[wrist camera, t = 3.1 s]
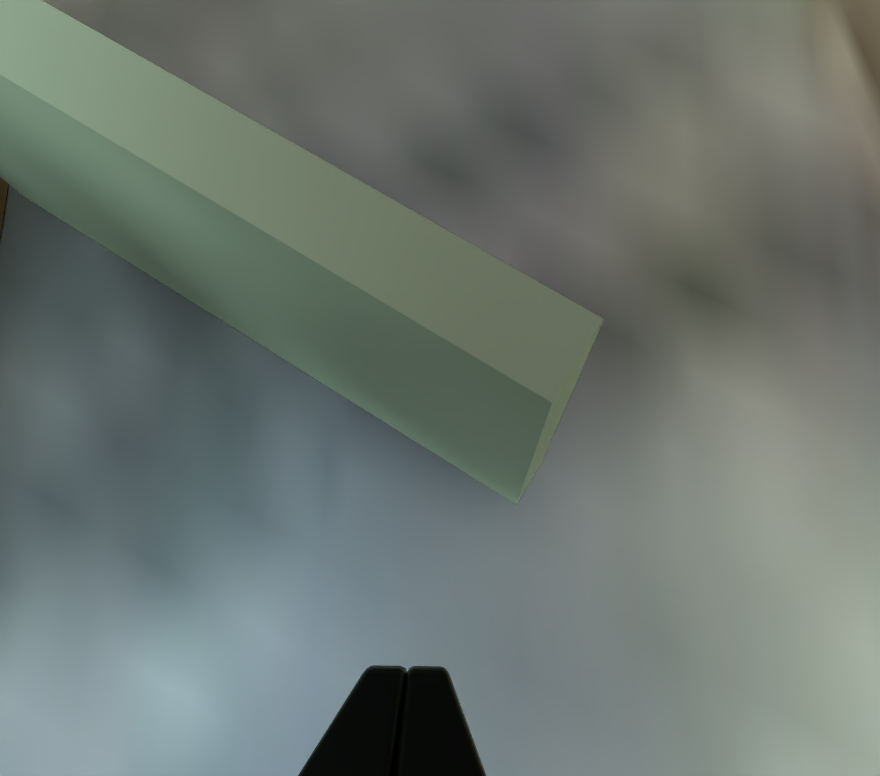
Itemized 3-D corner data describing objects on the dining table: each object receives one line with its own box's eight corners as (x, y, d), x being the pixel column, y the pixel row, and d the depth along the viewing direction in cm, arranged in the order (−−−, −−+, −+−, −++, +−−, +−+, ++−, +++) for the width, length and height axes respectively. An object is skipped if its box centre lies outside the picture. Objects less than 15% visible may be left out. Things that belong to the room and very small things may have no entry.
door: (565, 425, 16) (666, 215, 7) (515, 506, 16) (555, 393, 7) (55, 120, 19) (-360, -332, 9) (3, 185, 18) (-479, -218, 9)
